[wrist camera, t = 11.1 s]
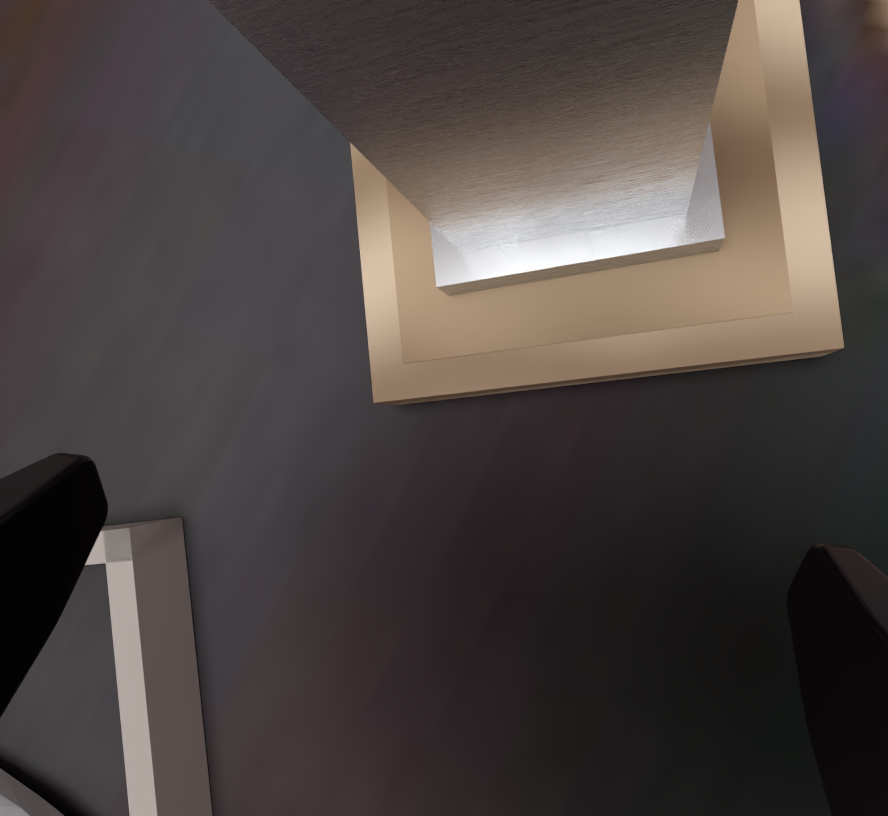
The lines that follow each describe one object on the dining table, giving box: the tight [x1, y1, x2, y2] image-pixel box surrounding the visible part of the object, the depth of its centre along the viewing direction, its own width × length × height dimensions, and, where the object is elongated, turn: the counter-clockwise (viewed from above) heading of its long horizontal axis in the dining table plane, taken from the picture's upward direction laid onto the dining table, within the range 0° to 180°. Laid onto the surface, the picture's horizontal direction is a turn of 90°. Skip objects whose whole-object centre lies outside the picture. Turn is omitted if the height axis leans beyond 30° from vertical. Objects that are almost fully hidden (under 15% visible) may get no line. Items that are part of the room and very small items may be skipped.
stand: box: [350, 0, 844, 405], centre depth 19 cm, size 12×12×2 cm
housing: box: [209, 0, 738, 296], centre depth 11 cm, size 6×7×13 cm
